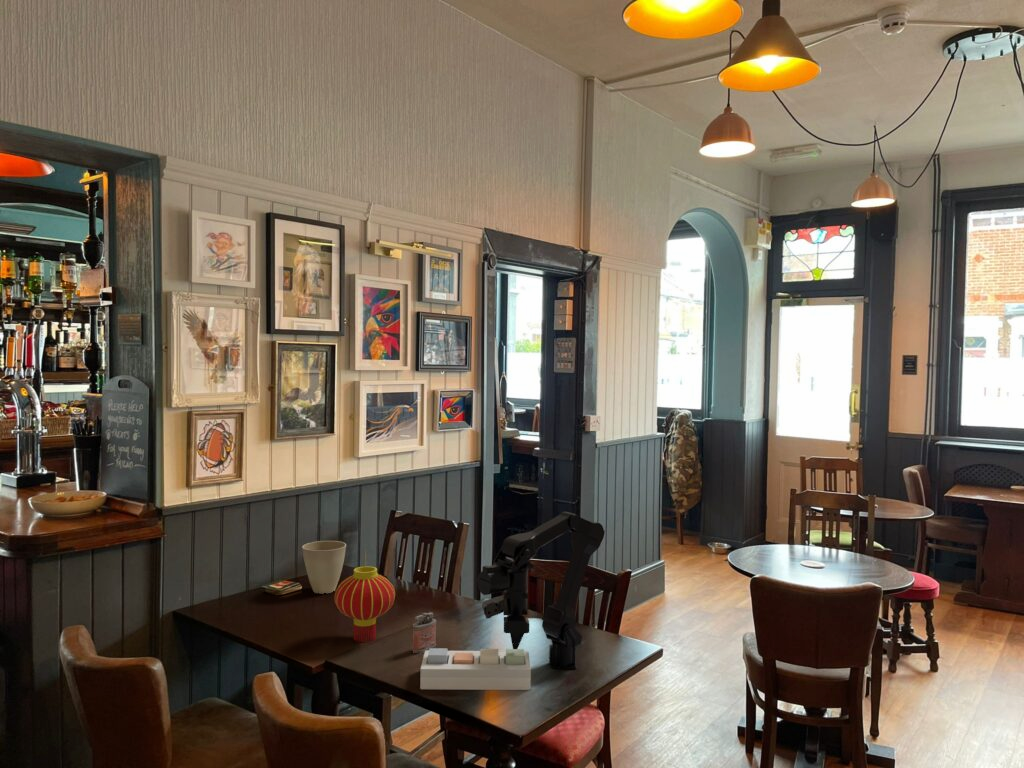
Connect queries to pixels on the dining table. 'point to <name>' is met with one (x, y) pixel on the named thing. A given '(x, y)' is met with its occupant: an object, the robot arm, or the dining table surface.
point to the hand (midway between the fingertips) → (515, 648)
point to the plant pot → (324, 564)
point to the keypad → (475, 674)
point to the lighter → (424, 633)
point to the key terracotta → (463, 658)
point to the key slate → (437, 656)
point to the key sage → (514, 656)
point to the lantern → (364, 599)
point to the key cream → (488, 656)
